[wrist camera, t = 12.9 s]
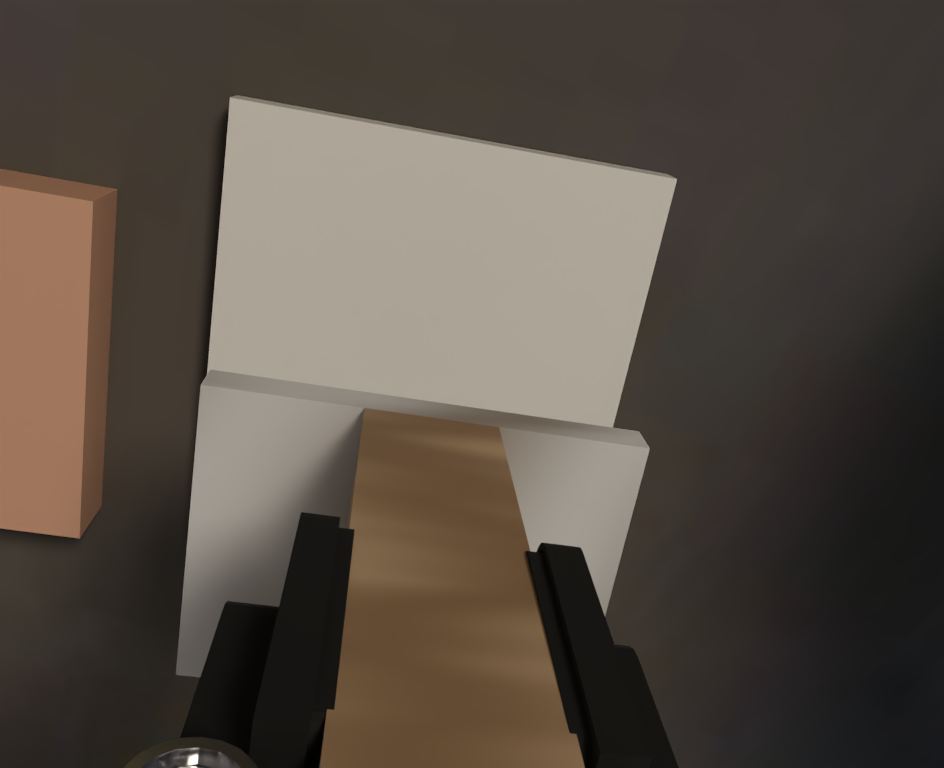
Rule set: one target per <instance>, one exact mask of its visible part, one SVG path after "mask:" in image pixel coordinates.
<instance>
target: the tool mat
mask: <svg viewBox="0 0 944 768" xmlns="http://www.w3.org/2000/svg"><path fill="white" fill-rule="evenodd" d="M676 181H677V179H676V178H674V177H672V176H670V175H668V174H664V173H659V172H654V171H648V170H643V169H637V168H632V167H626V166H621V165H615V164H610V163H604V162H599V161H594V160H588V159H583V158H577V157H572V156H566V155H561V154H555V153H550V152H544V151H539V150H534V149H528V148H523V147H517V146H512V145H506V144H501V143H495V142H490V141H484V140H479V139H474V138H468V137H463V136H457V135H452V134H446V133H441V132H435V131H430V130H424V129H419V128H414V127H408V126H403V125H397V124H392V123H386V122H381V121H375V120H370V119H364V118H359V117H354V116H348V115H343V114H337V113H332V112H326V111H321V110H315V109H310V108H304V107H299V106H293V105H288V104H283V103H277V102H272V101H266V100H261V99H255V98H250V97H244V96H239V95H236V96H233V97H230V104H229V116H228V128H227V140H226V152H225V164H224V176H223V188H222V200H221V212H220V224H219V236H218V248H217V260H216V272H215V284H214V296H213V308H212V320H211V332H210V344H209V357H208V369H207V374H208V373H209V371H210V370H217V371H224V372H231V373H238V374H245V375H252V376H259V377H266V378H273V379H280V380H286V381H293V382H300V383H307V384H314V385H321V386H328V387H335V388H342V389H349V390H356V391H363V392H370V393H376V394H383V395H390V396H397V397H404V398H411V399H418V400H425V401H432V402H439V403H446V404H453V405H460V406H466V407H473V408H480V409H487V410H494V411H501V412H508V413H515V414H522V415H529V416H536V417H543V418H549V419H556V420H563V421H570V422H577V423H584V424H591V425H598V426H605V427H612V428H613V424H614V420H615V417H616V413H617V409H618V405H619V401H620V397H621V393H622V390H623V386H624V382H625V378H626V374H627V370H628V366H629V362H630V359H631V355H632V351H633V347H634V343H635V339H636V335H637V332H638V328H639V324H640V320H641V316H642V312H643V308H644V305H645V301H646V297H647V293H648V289H649V285H650V281H651V278H652V274H653V270H654V266H655V262H656V258H657V254H658V251H659V247H660V243H661V239H662V235H663V231H664V227H665V224H666V220H667V216H668V212H669V208H670V204H671V200H672V197H673V193H674V189H675V185H676Z"/></svg>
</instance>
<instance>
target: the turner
mask: <svg viewBox="0 0 944 768" xmlns="http://www.w3.org/2000/svg"><path fill="white" fill-rule="evenodd" d="M649 449H650V448H649V447H648V445H647V443H646V442H645V440H644V439H643V437H642V435H641V434H640V432H639V431H633V430H626V429H619V428H612V427H605V426H598V425H591V424H584V423H577V422H570V421H563V420H556V419H549V418H543V417H536V416H529V415H522V414H515V413H508V412H501V411H494V410H487V409H480V408H473V407H466V406H460V405H453V404H446V403H439V402H432V401H425V400H418V399H411V398H404V397H397V396H390V395H383V394H376V393H370V392H363V391H356V390H349V389H342V388H335V387H328V386H321V385H314V384H307V383H300V382H293V381H286V380H280V379H273V378H266V377H259V376H252V375H245V374H238V373H231V372H224V371H217V370H210V371H209V373H208V374H207V376H206V377H205V379H204V380H203V382H202V383H201V387H200V399H199V410H198V422H197V434H196V445H195V457H194V469H193V480H192V492H191V503H190V515H189V527H188V538H187V550H186V561H185V573H184V585H183V596H182V608H181V620H180V631H179V643H178V654H177V666H176V675H181V676H191V677H201V674H202V671H203V668H204V665H205V662H206V659H207V655H208V652H209V649H210V646H211V643H212V640H213V637H214V634H215V631H216V628H217V625H218V622H219V619H220V616H221V613H222V610H223V608H224V605H225V603H226V602H227V601H233V602H242V603H250V604H259V605H268V606H277V607H279V605H280V601H281V596H282V592H283V588H284V583H285V579H286V575H287V570H288V566H289V562H290V557H291V553H292V549H293V544H294V540H295V536H296V531H297V527H298V523H299V518H300V514H301V512H305V513H313V514H321V515H329V516H337V517H340V524H339V527H340V528H348V529H355V531H354V540H353V549H352V558H351V566H350V575H349V584H348V593H347V602H346V611H345V619H344V628H343V637H342V646H341V655H340V664H339V672H338V681H337V690H336V699H335V708H334V710H330V709H327V713H326V720H325V728H324V735H323V741H322V748H321V755H320V761H319V768H585V766H584V762H583V758H582V754H581V750H580V746H579V742H578V738H577V734H572V733H570V732H569V728H568V724H567V720H566V715H565V711H564V707H563V703H562V699H561V695H560V691H559V686H558V682H557V678H556V674H555V670H554V666H553V662H552V658H551V653H550V649H549V645H548V641H547V637H546V633H545V629H544V625H543V620H542V616H541V612H540V608H539V604H538V600H537V596H536V591H535V587H534V583H533V579H532V575H531V571H530V567H529V563H528V558H527V554H526V551H532V552H537V549H538V547H539V545H540V544H541V543H542V542H543V543H550V544H558V545H566V546H574V547H580V548H581V549H582V551H583V554H584V557H585V560H586V562H587V565H588V568H589V571H590V574H591V577H592V580H593V583H594V586H595V589H596V592H597V595H598V598H599V601H600V604H601V607H602V610H603V613H604V616H605V614H606V611H607V607H608V603H609V599H610V596H611V592H612V588H613V584H614V581H615V577H616V573H617V569H618V566H619V562H620V558H621V554H622V551H623V547H624V543H625V539H626V536H627V532H628V528H629V524H630V521H631V517H632V513H633V509H634V506H635V502H636V498H637V494H638V491H639V487H640V483H641V479H642V476H643V472H644V468H645V464H646V461H647V457H648V453H649Z"/></svg>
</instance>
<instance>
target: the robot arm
mask: <svg viewBox="0 0 944 768" xmlns="http://www.w3.org/2000/svg"><path fill="white" fill-rule="evenodd" d="M339 524H340V517H337V516H329V515H321V514H313V513H305V512H301V514H300V518H299V523H298V527H297V531H296V536H295V540H294V544H293V549H292V553H291V557H290V562H289V566H288V570H287V575H286V579H285V583H284V588H283V592H282V596H281V601H280V605H279V607H277V606H268V605H259V604H250V603H242V602H233V601H227V602H226V603H225V605H224V608H223V610H222V613H221V616H220V619H219V622H218V625H217V628H216V631H215V634H214V637H213V640H212V643H211V646H210V649H209V652H208V655H207V659H206V662H205V665H204V668H203V671H202V674H201V677H200V680H199V683H198V686H197V689H196V692H195V695H194V698H193V701H192V704H191V707H190V710H189V713H188V716H187V719H186V722H185V725H184V728H183V731H182V734H181V737H180V738H177V739H173V740H170V741H166V742H162V743H159V744H156V745H154V746H152V747H150V748H149V749H147V750H145V751H143V752H141V753H139V754H137V755H136V756H135V757H134V758H133V759H132V760H131V761H130V762H129V763H128V764H127V765H126V766H125V767H123V768H319V761H320V755H321V748H322V741H323V735H324V728H325V720H326V713H327V709H330V710H334V708H335V699H336V690H337V681H338V672H339V664H340V655H341V646H342V637H343V628H344V619H345V611H346V602H347V593H348V584H349V575H350V566H351V558H352V549H353V540H354V531H355V529H348V528H340V527H339ZM526 554H527V558H528V563H529V567H530V571H531V575H532V579H533V583H534V587H535V591H536V596H537V600H538V604H539V608H540V612H541V616H542V620H543V625H544V629H545V633H546V637H547V641H548V645H549V649H550V653H551V658H552V662H553V666H554V670H555V674H556V678H557V682H558V686H559V691H560V695H561V699H562V703H563V707H564V711H565V715H566V720H567V724H568V728H569V732H570V733H572V734H577V738H578V742H579V746H580V750H581V754H582V758H583V762H584V766H585V768H678V765H677V762H676V760H675V757H674V754H673V751H672V749H671V746H670V743H669V741H668V738H667V735H666V733H665V730H664V727H663V724H662V722H661V719H660V716H659V714H658V711H657V708H656V705H655V703H654V700H653V697H652V695H651V692H650V689H649V686H648V684H647V681H646V678H645V676H644V673H643V670H642V667H641V665H640V662H639V659H638V657H637V655H636V653H635V651H634V649H632V648H631V647H629V646H622V645H614V642H613V639H612V636H611V634H610V631H609V628H608V625H607V622H606V619H605V616H604V613H603V610H602V607H601V604H600V601H599V598H598V595H597V592H596V589H595V586H594V583H593V580H592V577H591V574H590V571H589V568H588V565H587V562H586V560H585V557H584V554H583V551H582V549H581V548H580V547H574V546H566V545H558V544H550V543H543V542H542V543H541V544H540V545H539V547H538V549H537V552H532V551H526Z"/></svg>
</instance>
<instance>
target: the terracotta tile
mask: <svg viewBox="0 0 944 768" xmlns="http://www.w3.org/2000/svg"><path fill="white" fill-rule="evenodd" d="M116 204H117V189H112V188H107V187H101V186H95V185H90V184H84V183H78V182H73V181H67V180H61V179H56V178H50V177H44V176H38V175H33V174H27V173H21V172H16V171H10V170H4V169H0V528H2V529H9V530H17V531H25V532H33V533H40V534H48V535H56V536H63V537H71V538H79V539H80V537H81V536H82V534H83V533H84V531H85V530H86V528H87V527H88V525H89V524H90V522H91V521H92V519H93V518H94V516H95V515H96V513H97V512H98V511H99V509H100V508H101V506H102V486H103V466H104V446H105V426H106V405H107V385H108V365H109V345H110V325H111V305H112V285H113V265H114V244H115V224H116Z"/></svg>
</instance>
